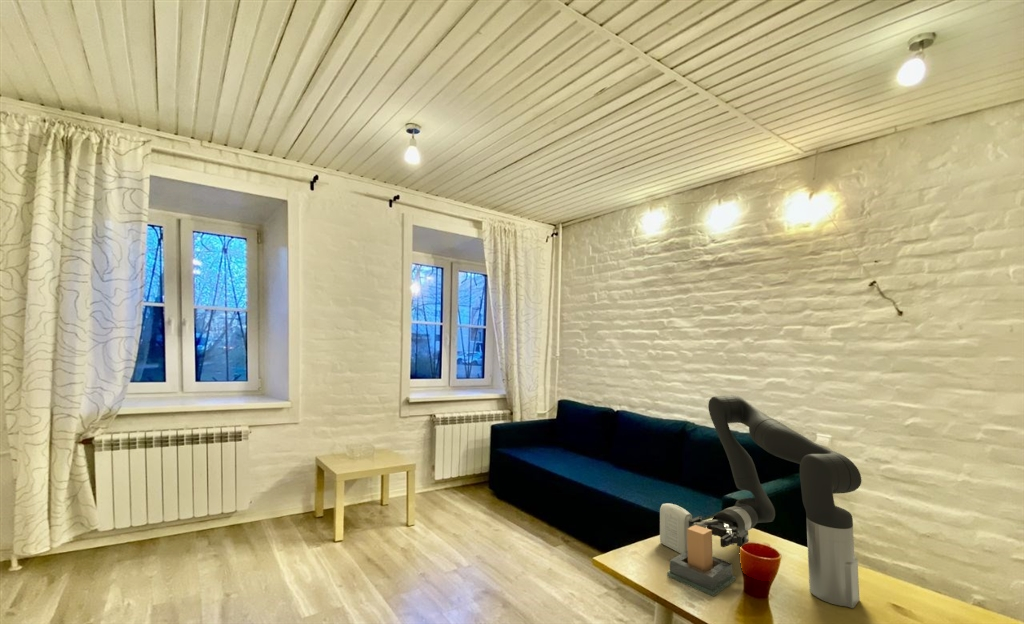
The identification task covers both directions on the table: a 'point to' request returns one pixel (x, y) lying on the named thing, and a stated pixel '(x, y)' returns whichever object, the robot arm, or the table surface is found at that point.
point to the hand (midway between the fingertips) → (705, 537)
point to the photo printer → (674, 527)
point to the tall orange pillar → (700, 547)
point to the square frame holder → (702, 574)
